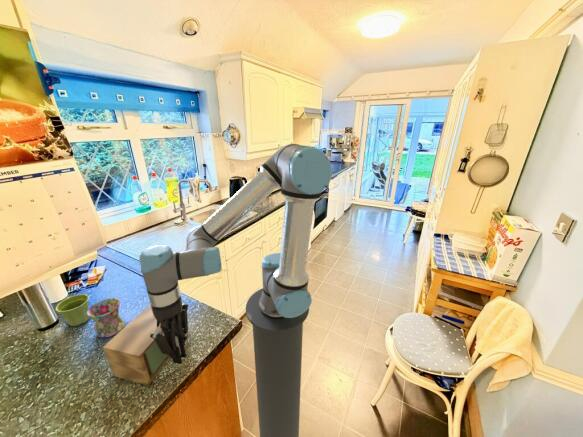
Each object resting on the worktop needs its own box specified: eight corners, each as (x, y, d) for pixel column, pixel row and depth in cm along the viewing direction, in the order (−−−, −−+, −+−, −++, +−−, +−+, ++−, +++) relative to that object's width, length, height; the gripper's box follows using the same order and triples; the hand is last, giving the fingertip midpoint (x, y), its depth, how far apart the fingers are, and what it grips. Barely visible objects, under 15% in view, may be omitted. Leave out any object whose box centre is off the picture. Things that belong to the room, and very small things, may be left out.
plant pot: (56, 330, 86) (47, 311, 82) (77, 311, 94) (70, 294, 91) (82, 329, 86) (75, 311, 83) (101, 311, 95) (95, 293, 92)
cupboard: (187, 335, 84) (181, 309, 80) (148, 385, 68) (139, 356, 63) (157, 329, 87) (151, 303, 82) (113, 376, 70) (102, 347, 66)
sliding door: (185, 356, 75) (180, 333, 72) (169, 378, 69) (163, 355, 65) (167, 352, 77) (162, 329, 73) (150, 373, 70) (143, 350, 66)
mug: (103, 322, 89) (94, 300, 85) (130, 318, 92) (123, 296, 88) (86, 349, 79) (76, 325, 75) (118, 343, 81) (109, 320, 77)
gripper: (172, 281, 72) (184, 338, 81) (132, 315, 59) (152, 379, 68) (193, 285, 71) (203, 342, 79) (158, 321, 58) (174, 385, 66)
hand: (179, 359), depth 74 cm, fingers closed on sliding door, 1 cm apart
